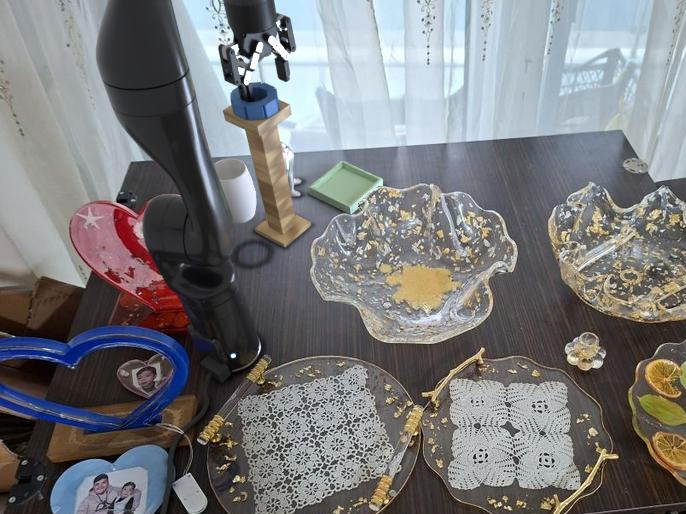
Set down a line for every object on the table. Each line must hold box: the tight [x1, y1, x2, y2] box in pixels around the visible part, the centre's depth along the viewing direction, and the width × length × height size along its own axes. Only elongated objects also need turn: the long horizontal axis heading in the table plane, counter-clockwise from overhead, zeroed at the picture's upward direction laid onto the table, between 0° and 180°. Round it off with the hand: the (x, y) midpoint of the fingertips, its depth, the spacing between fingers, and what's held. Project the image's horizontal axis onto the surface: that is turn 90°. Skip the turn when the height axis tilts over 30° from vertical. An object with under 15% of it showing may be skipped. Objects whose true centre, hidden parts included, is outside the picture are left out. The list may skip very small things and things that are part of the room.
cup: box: [213, 157, 257, 224], centre depth 113 cm, size 7×7×21 cm
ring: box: [229, 81, 280, 121], centre depth 103 cm, size 8×8×2 cm
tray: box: [308, 160, 384, 215], centre depth 133 cm, size 11×11×2 cm
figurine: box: [280, 141, 302, 198], centre depth 129 cm, size 7×4×12 cm, turn 4°
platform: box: [222, 99, 312, 249], centre depth 115 cm, size 8×8×28 cm
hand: (267, 90), depth 104 cm, fingers open, 8 cm apart
